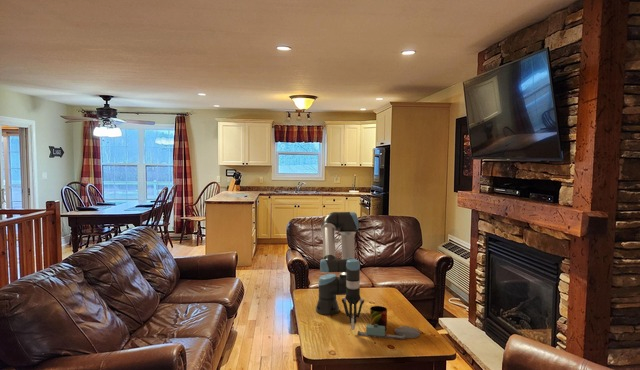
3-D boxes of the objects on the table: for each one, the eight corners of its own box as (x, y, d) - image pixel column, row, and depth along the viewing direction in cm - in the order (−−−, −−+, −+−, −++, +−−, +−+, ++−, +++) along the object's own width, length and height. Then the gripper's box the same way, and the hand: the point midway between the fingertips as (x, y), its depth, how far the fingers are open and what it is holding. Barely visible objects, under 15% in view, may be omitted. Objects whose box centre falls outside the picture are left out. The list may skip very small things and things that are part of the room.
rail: (358, 333, 213) (358, 330, 213) (405, 338, 207) (405, 335, 207) (357, 335, 210) (357, 332, 210) (405, 339, 205) (405, 337, 205)
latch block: (367, 331, 212) (367, 322, 212) (385, 333, 210) (385, 323, 210) (366, 334, 209) (366, 325, 208) (384, 336, 206) (384, 326, 206)
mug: (381, 322, 228) (381, 303, 228) (389, 332, 214) (389, 311, 214) (366, 323, 226) (366, 304, 226) (373, 333, 213) (373, 312, 212)
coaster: (394, 326, 222) (394, 325, 222) (419, 329, 219) (419, 327, 219) (394, 337, 208) (394, 335, 208) (420, 339, 205) (420, 338, 205)
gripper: (340, 288, 209) (340, 330, 210) (363, 290, 206) (363, 332, 207) (342, 284, 216) (342, 325, 217) (365, 286, 213) (365, 327, 214)
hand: (352, 328), depth 212 cm, fingers closed
